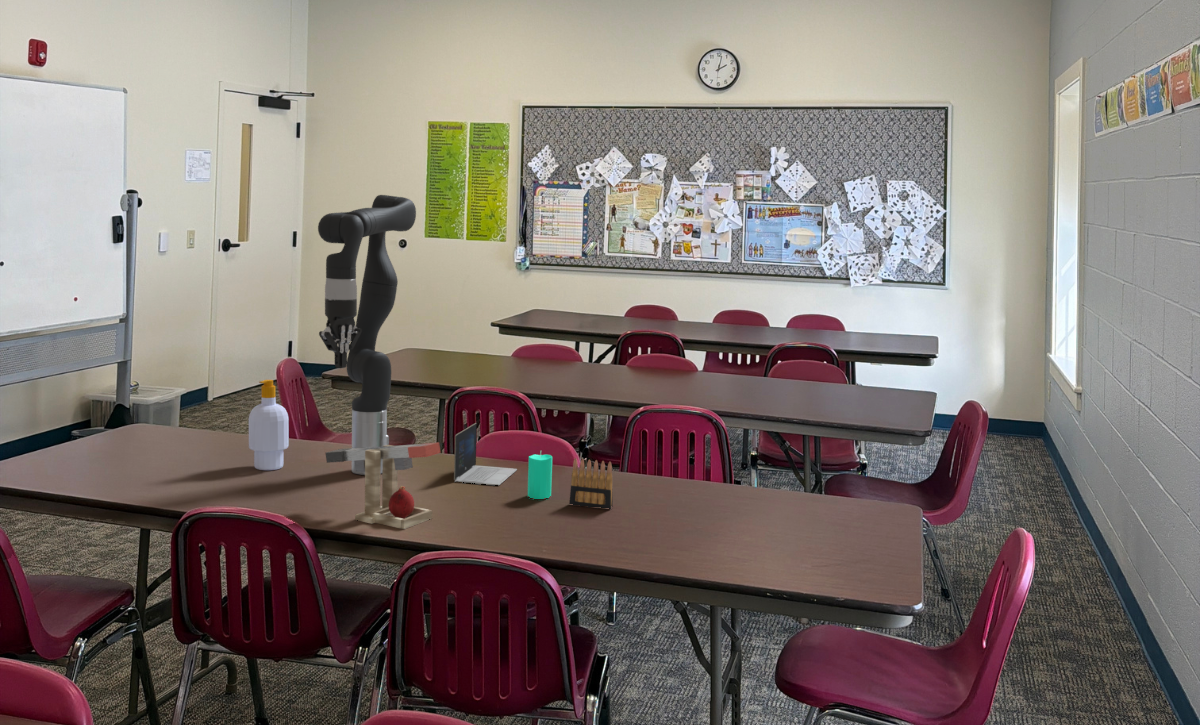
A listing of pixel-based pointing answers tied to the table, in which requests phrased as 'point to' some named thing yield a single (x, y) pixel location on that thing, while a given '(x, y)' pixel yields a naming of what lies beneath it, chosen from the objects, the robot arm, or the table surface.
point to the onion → (401, 503)
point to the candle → (539, 476)
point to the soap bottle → (268, 430)
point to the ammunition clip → (591, 485)
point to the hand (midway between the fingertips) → (340, 367)
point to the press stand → (385, 494)
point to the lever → (385, 454)
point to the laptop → (474, 462)
